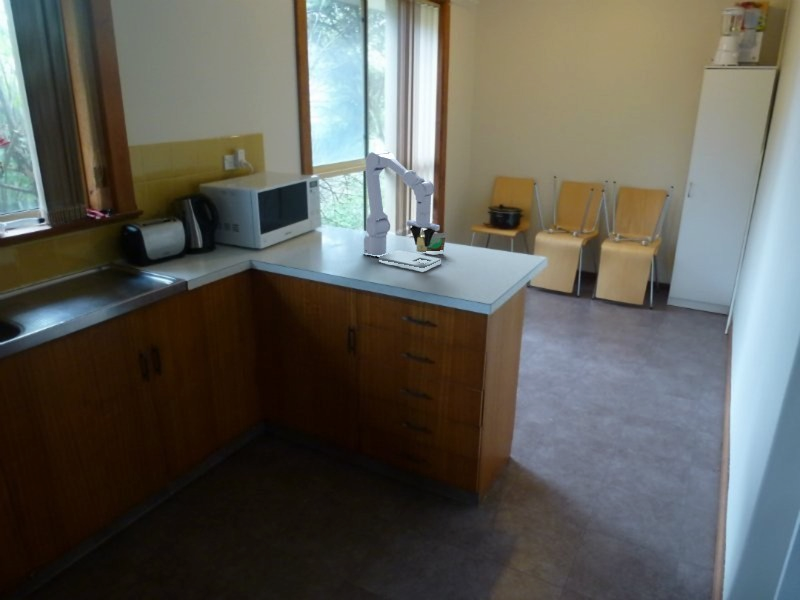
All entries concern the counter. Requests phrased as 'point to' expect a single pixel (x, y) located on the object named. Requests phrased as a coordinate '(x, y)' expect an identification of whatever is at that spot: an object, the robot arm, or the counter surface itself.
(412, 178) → the robot arm
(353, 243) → the counter surface
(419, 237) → the gold metal cylinder
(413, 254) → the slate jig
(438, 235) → the food container
